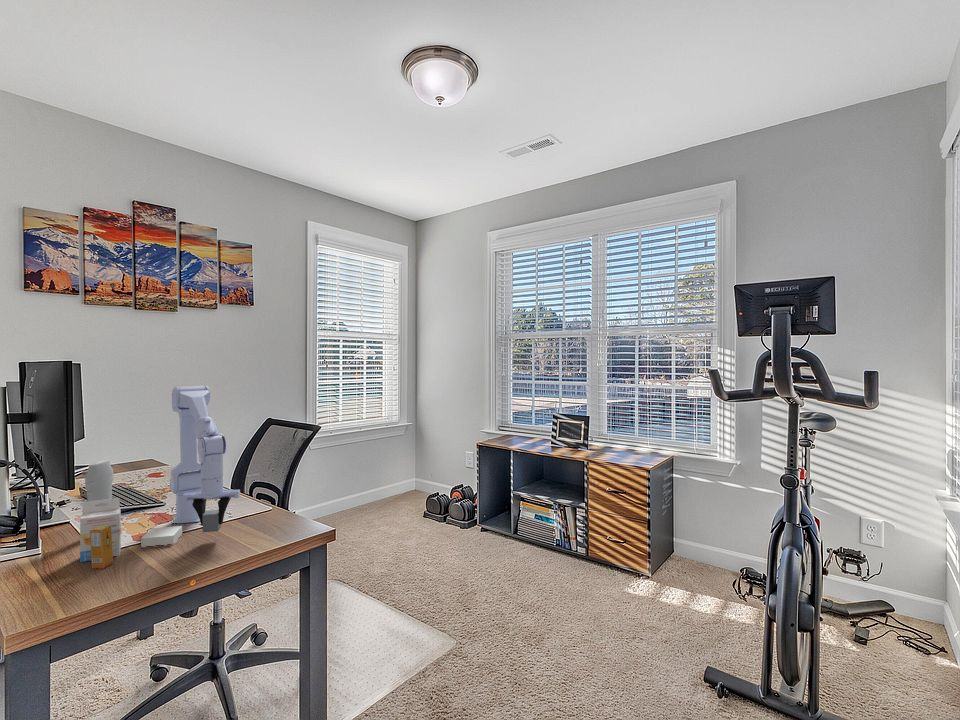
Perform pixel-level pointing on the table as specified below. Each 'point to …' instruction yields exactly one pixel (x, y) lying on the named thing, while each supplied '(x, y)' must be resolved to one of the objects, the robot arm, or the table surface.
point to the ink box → (100, 524)
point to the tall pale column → (99, 482)
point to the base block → (161, 536)
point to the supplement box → (101, 546)
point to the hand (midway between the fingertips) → (212, 523)
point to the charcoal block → (211, 521)
